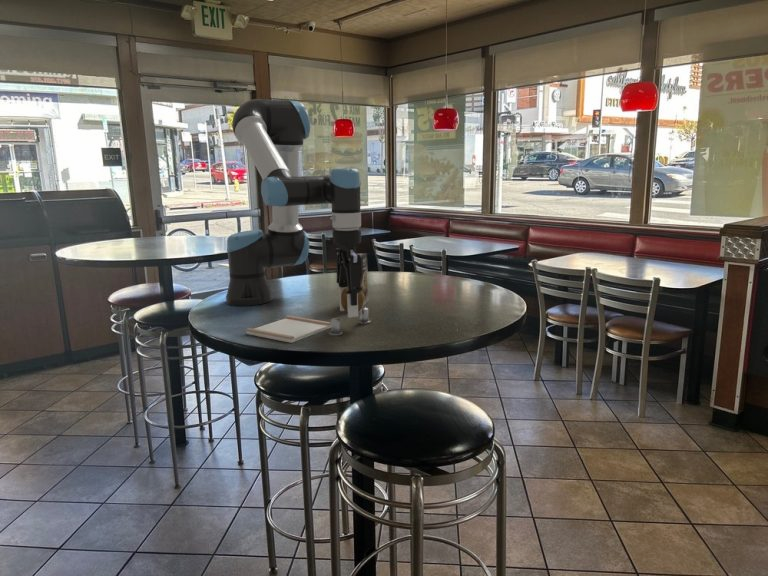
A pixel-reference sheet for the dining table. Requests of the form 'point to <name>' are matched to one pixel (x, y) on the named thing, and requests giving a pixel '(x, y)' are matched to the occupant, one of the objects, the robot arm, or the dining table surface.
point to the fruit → (344, 300)
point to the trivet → (290, 329)
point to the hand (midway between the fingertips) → (349, 313)
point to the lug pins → (336, 322)
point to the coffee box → (364, 276)
